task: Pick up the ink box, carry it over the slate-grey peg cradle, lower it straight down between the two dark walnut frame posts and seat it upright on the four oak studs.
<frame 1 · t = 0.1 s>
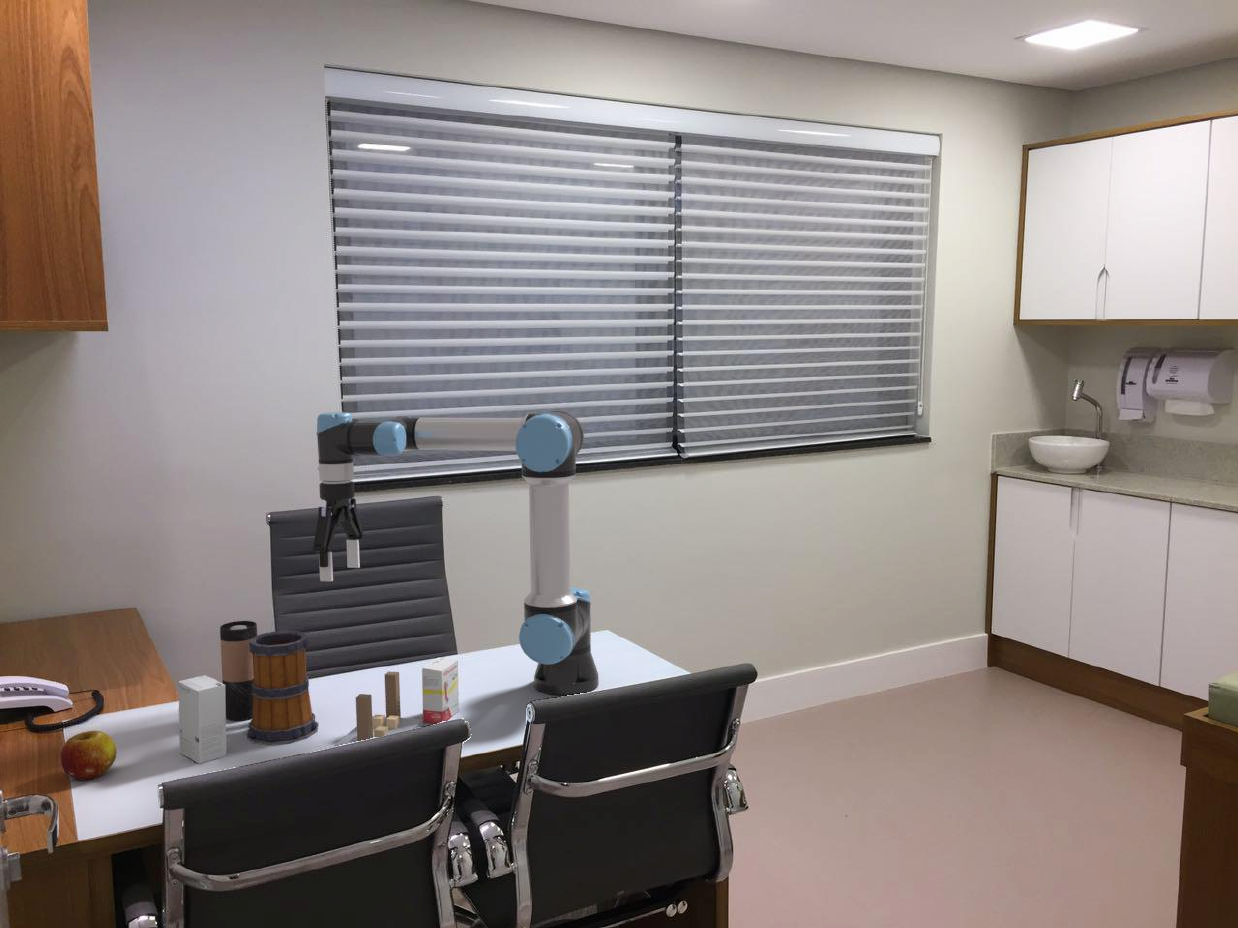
hand: (340, 574, 231), 28 cm above the table, fingers open, 13 cm apart
fruit: (90, 775, 191), on the table
peg cradle: (380, 738, 207), on the table
travel mug: (243, 715, 221), on the table
ink box: (441, 717, 220), on the table
skincare box: (204, 755, 200), on the table
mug: (287, 728, 214), on the table
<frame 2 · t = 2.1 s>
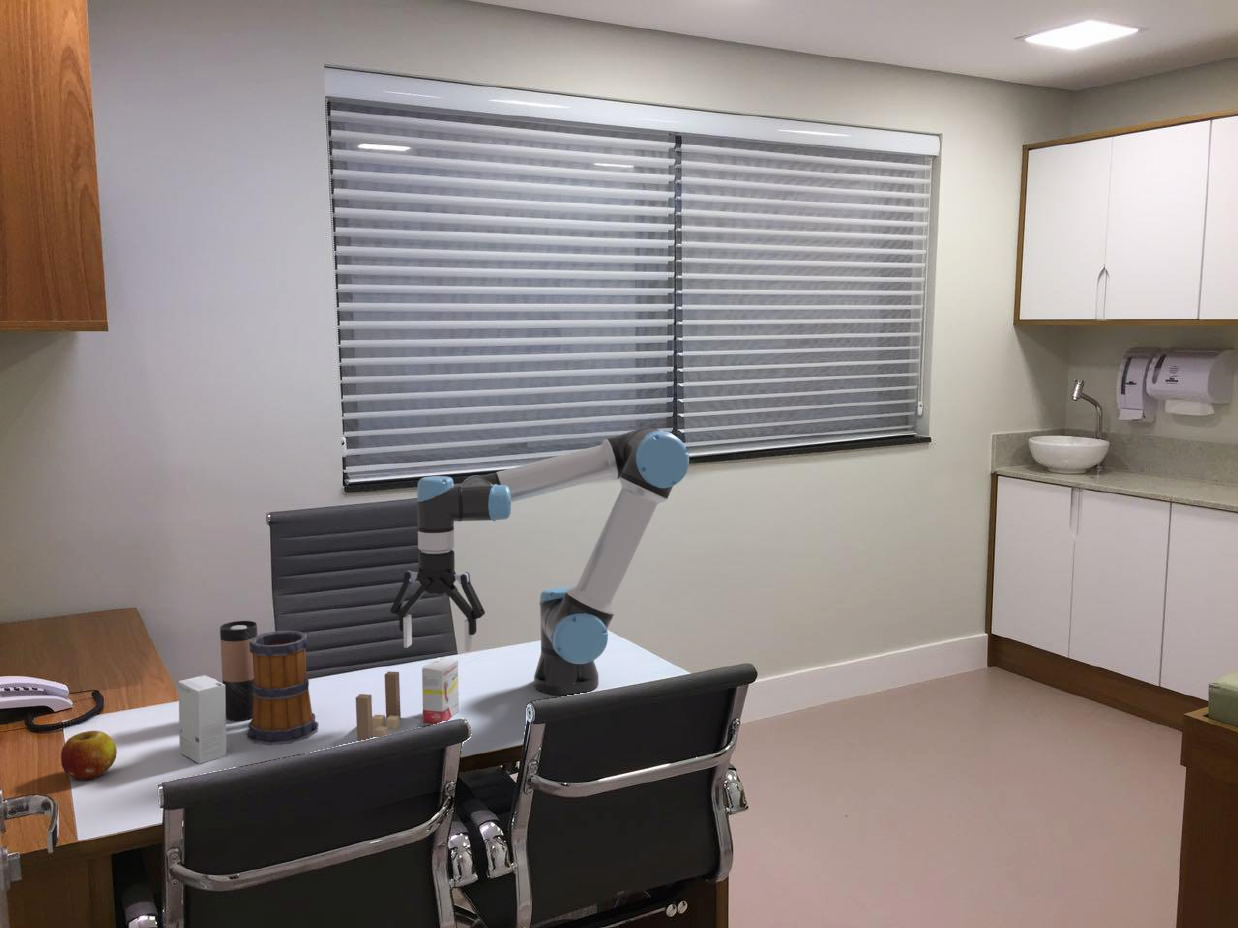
hand: (438, 647, 218), 15 cm above the table, fingers open, 13 cm apart
nothing on the table moved.
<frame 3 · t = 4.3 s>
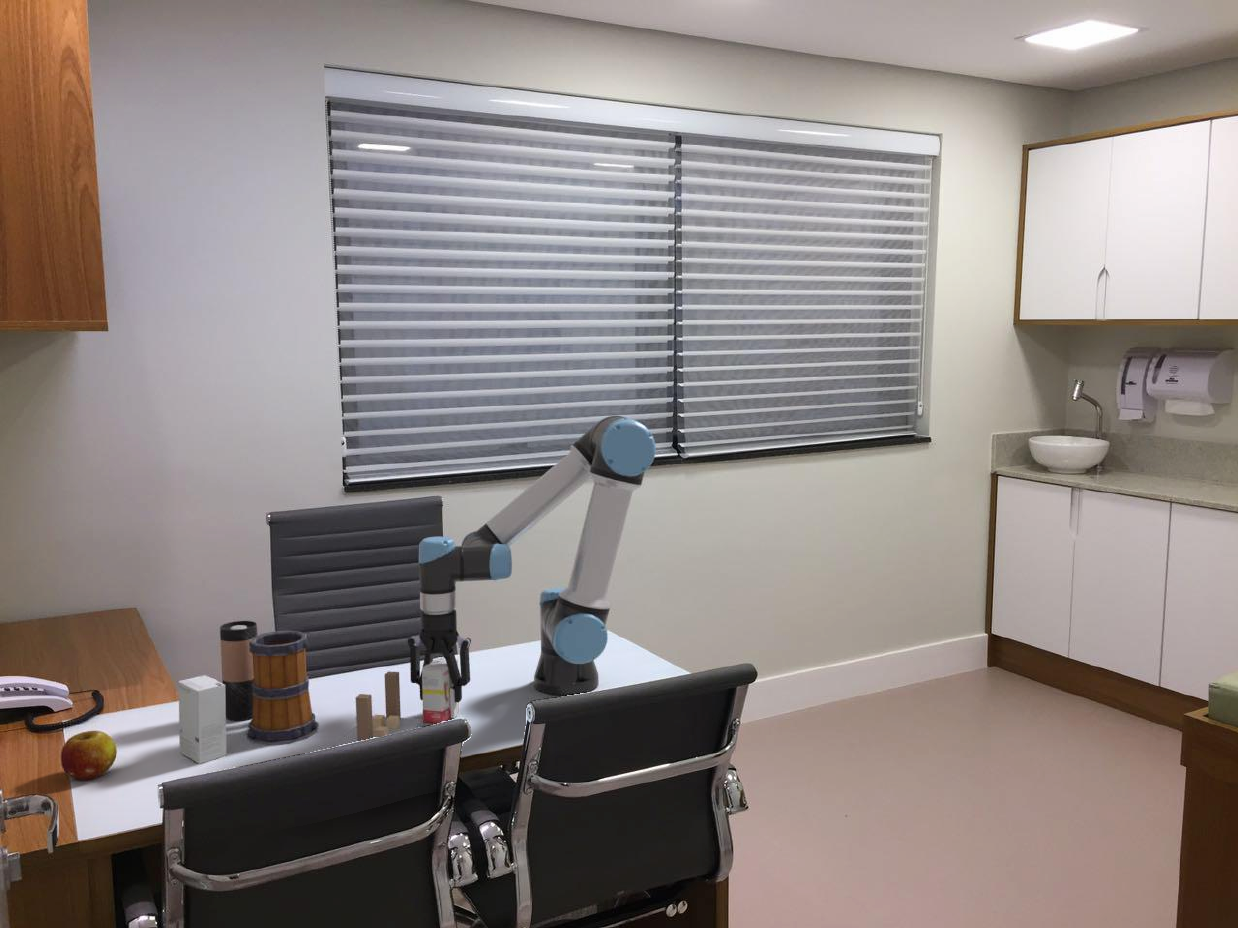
hand: (441, 714, 220), 0 cm above the table, fingers closed on ink box, 5 cm apart
ink box: (441, 717, 220), on the table, touching gripper
everything else where it was.
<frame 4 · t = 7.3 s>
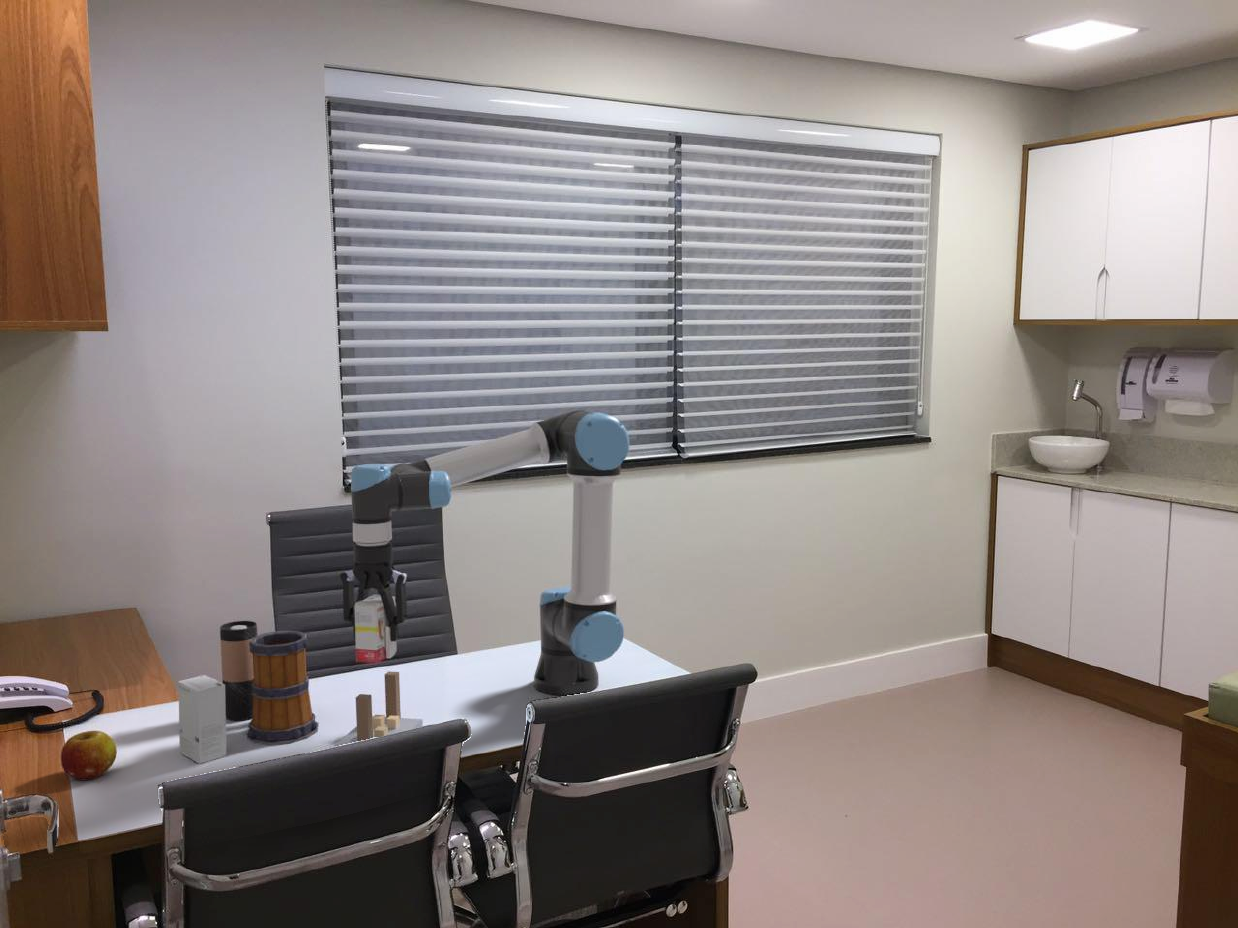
hand: (376, 655, 205), 18 cm above the table, fingers closed on ink box, 5 cm apart
ink box: (376, 657, 205), point 17 cm above the table, touching gripper
everything else where it was.
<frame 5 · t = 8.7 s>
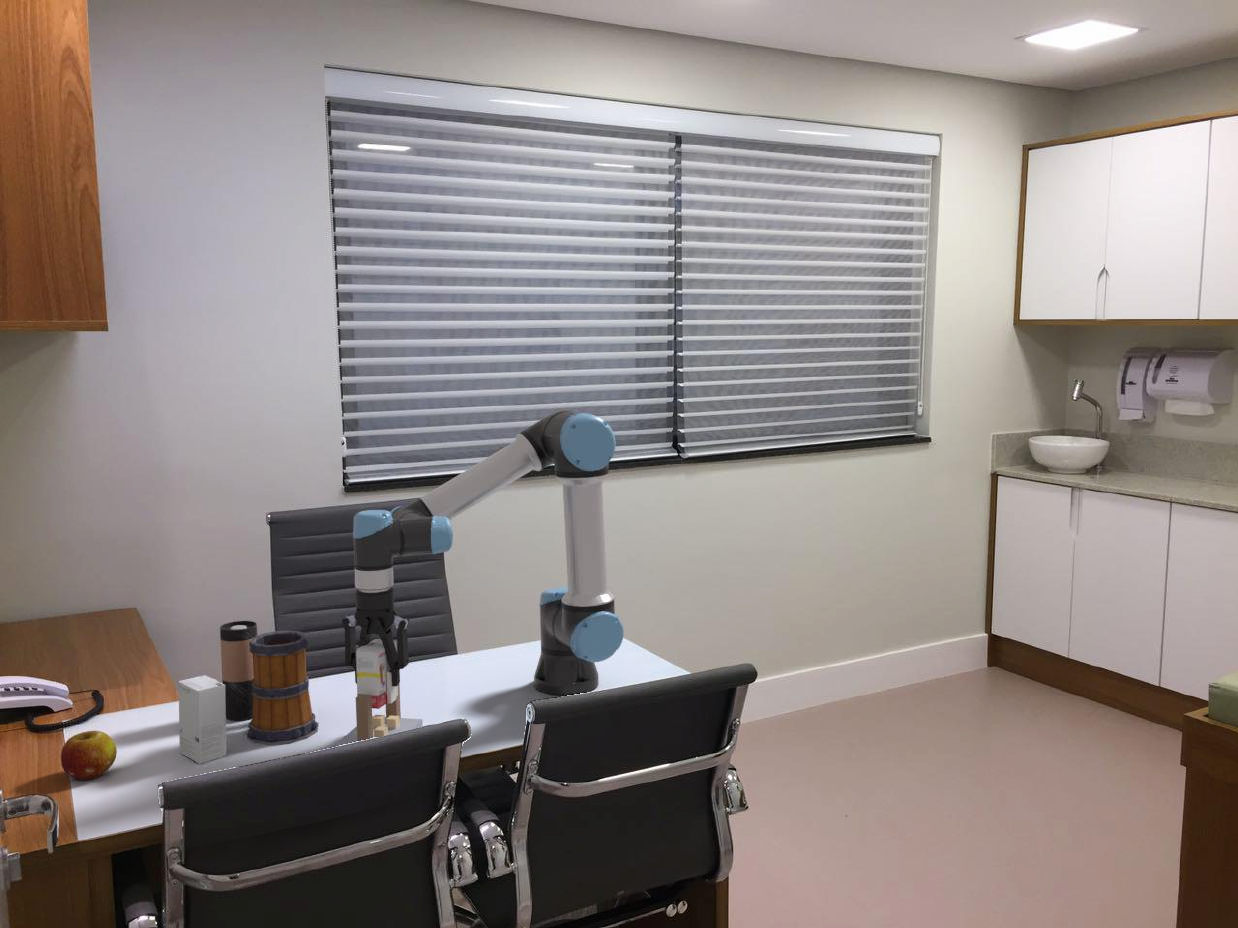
hand: (378, 700, 206), 8 cm above the table, fingers closed on ink box, 5 cm apart
ink box: (378, 702, 206), point 8 cm above the table, touching gripper
everything else where it was.
when the fingers open (5 cm above the table, at t = 10.1 s): ink box stays where it is, resting on peg cradle.
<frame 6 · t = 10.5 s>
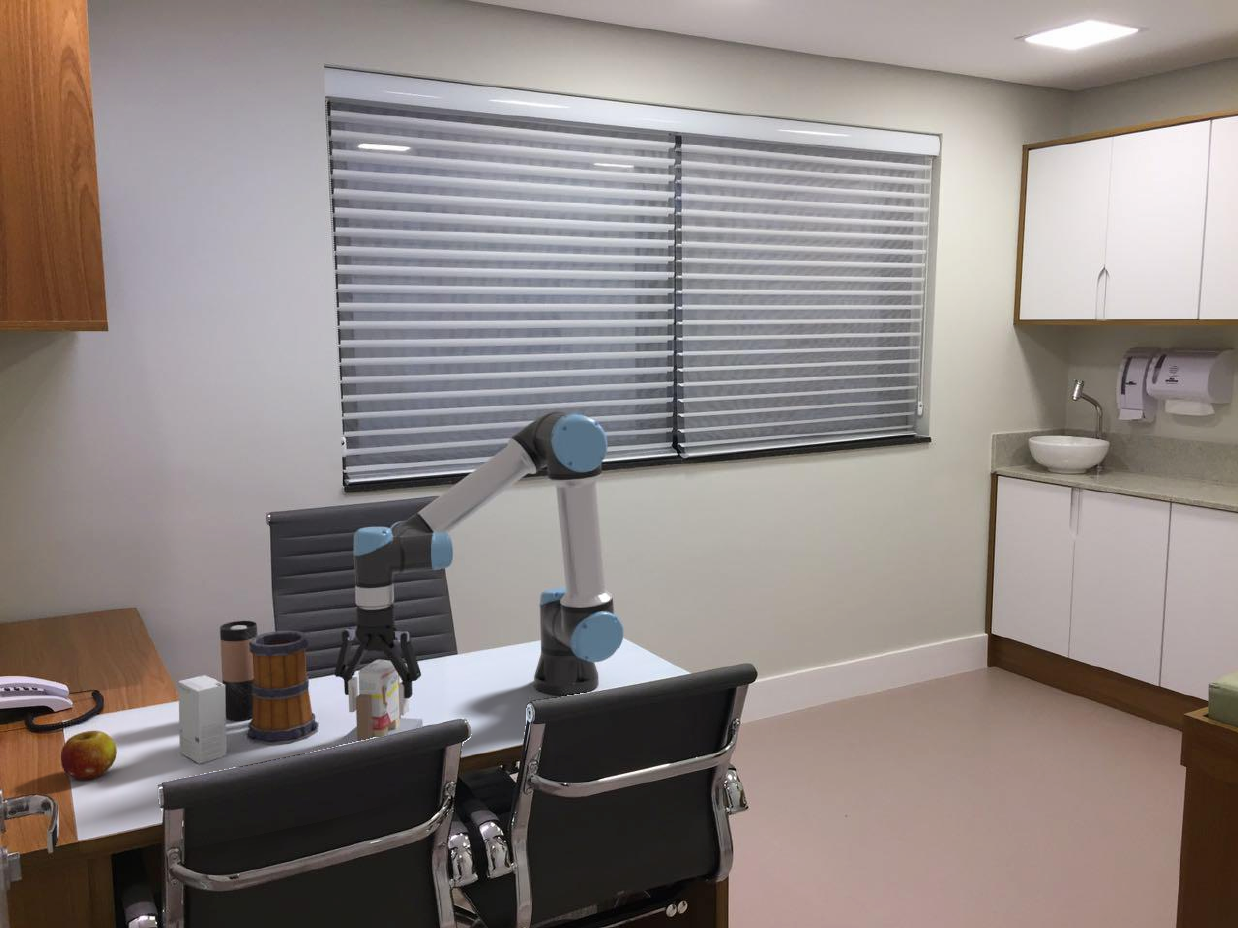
hand: (379, 711, 207), 6 cm above the table, fingers open, 10 cm apart
ink box: (380, 723, 207), point 3 cm above the table, touching peg cradle
everything else where it was.
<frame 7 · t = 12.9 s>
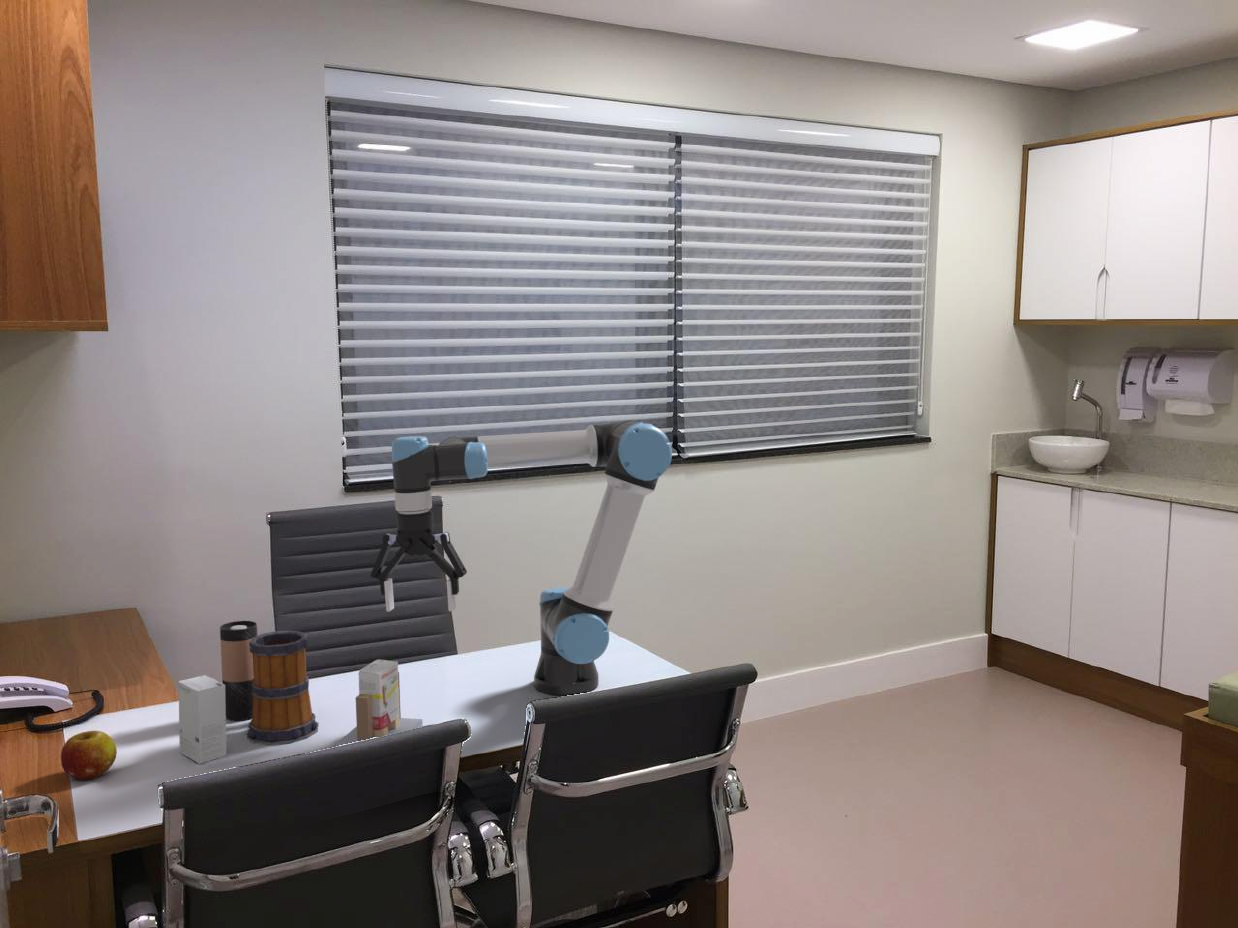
hand: (421, 609, 215), 24 cm above the table, fingers open, 13 cm apart
nothing on the table moved.
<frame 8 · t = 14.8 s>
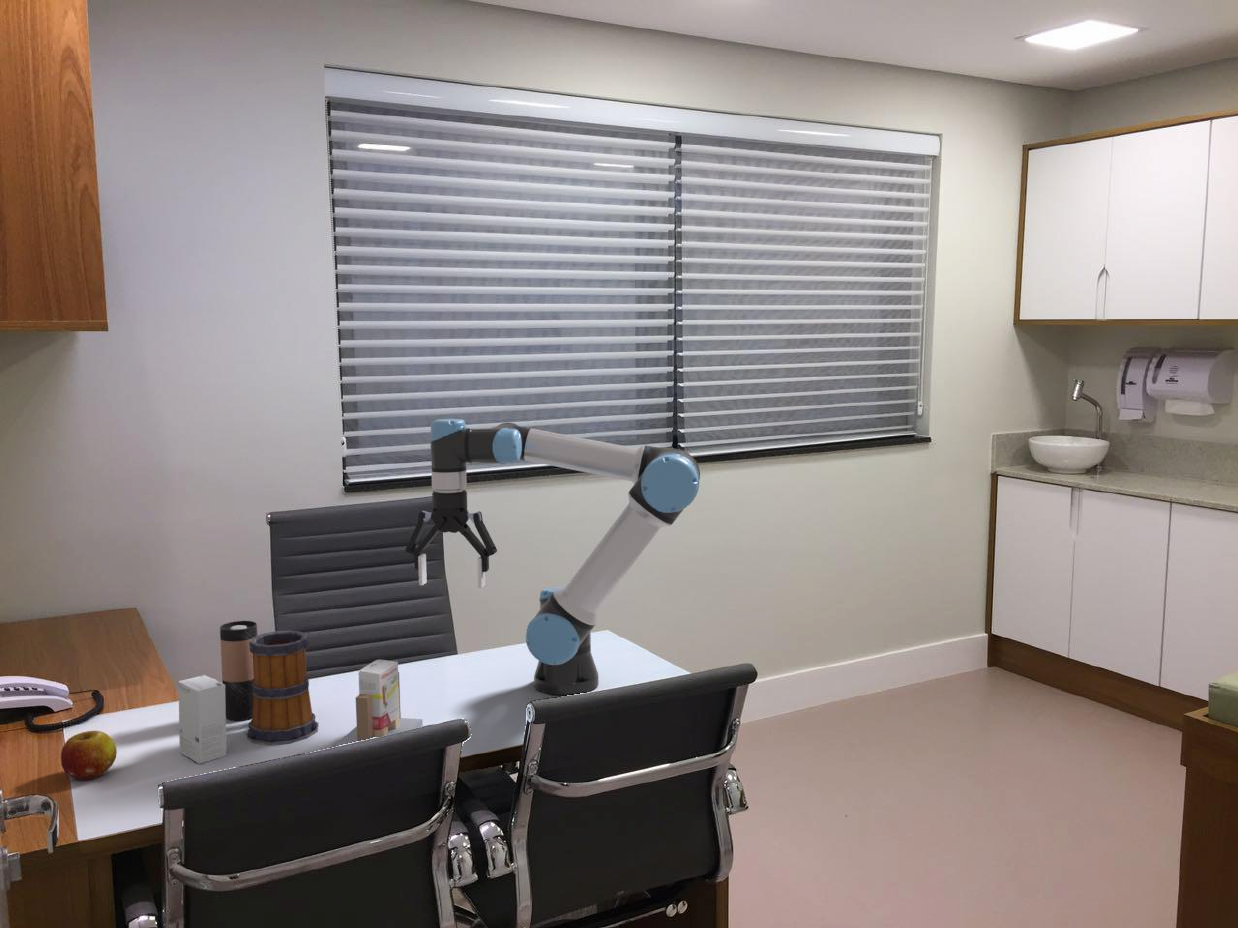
hand: (452, 585, 225), 27 cm above the table, fingers open, 13 cm apart
nothing on the table moved.
at the end: ink box 0.1 cm off-centre on the peg cradle, point 3.3 cm above the peg cradle's base; ink box tilted 0°; the gripper is holding nothing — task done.
